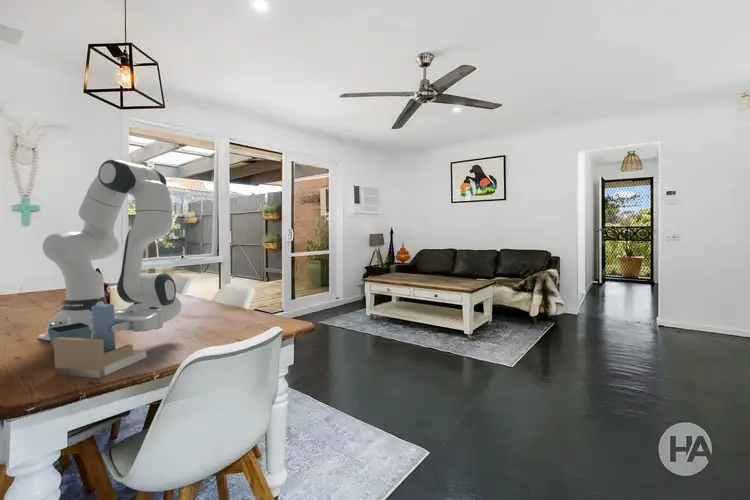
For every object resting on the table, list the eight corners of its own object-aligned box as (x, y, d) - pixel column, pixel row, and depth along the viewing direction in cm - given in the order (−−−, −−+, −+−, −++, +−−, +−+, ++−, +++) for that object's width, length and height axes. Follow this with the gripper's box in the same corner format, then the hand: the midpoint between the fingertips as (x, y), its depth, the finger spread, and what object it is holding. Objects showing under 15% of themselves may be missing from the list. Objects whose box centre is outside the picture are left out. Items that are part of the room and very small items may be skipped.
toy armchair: (55, 374, 99) (53, 338, 98) (107, 354, 114) (106, 323, 114) (99, 378, 96) (98, 341, 96) (146, 357, 112) (145, 325, 112)
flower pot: (59, 361, 108) (57, 332, 108) (48, 356, 113) (47, 328, 112) (94, 353, 115) (92, 325, 115) (82, 348, 120) (81, 322, 120)
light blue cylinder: (88, 355, 103) (86, 307, 103) (105, 349, 109) (103, 303, 108) (104, 356, 103) (102, 308, 102) (120, 350, 108) (118, 304, 107)
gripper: (111, 306, 119) (70, 316, 106) (166, 308, 116) (131, 319, 103) (112, 325, 120) (70, 337, 106) (167, 328, 117) (132, 341, 103)
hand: (101, 328), depth 104 cm, fingers closed on light blue cylinder, 5 cm apart
